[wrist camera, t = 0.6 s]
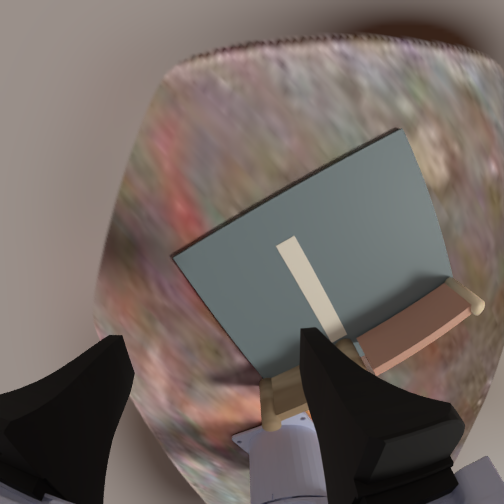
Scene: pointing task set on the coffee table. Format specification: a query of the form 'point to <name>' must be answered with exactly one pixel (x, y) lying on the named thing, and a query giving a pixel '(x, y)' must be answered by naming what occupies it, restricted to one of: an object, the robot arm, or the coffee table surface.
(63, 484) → the robot arm
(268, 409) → the fence frame
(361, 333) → the card
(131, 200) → the coffee table surface
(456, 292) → the fence panel
